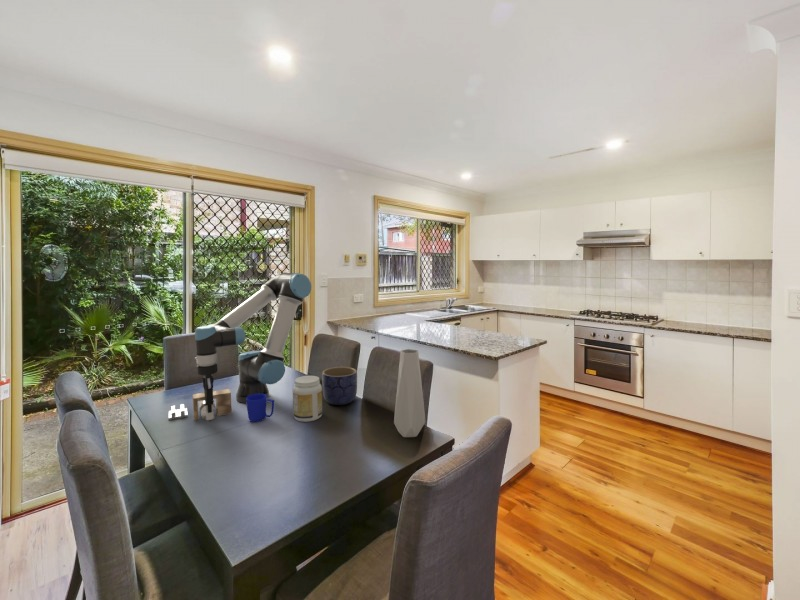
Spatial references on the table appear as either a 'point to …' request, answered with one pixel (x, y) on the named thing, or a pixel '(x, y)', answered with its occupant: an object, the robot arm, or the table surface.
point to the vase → (409, 395)
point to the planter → (339, 385)
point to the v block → (178, 412)
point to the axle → (203, 409)
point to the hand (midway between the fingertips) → (209, 419)
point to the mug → (258, 407)
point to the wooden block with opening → (221, 402)
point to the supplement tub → (307, 398)
